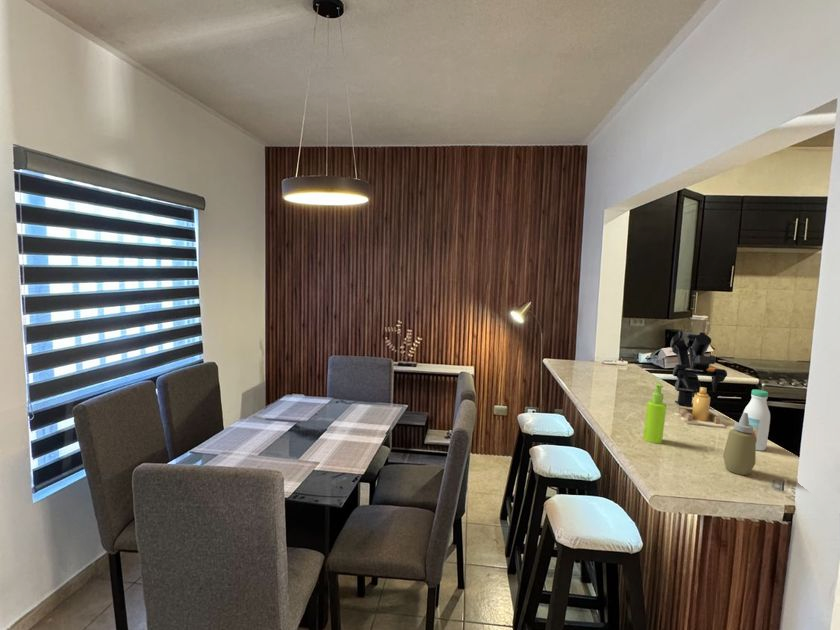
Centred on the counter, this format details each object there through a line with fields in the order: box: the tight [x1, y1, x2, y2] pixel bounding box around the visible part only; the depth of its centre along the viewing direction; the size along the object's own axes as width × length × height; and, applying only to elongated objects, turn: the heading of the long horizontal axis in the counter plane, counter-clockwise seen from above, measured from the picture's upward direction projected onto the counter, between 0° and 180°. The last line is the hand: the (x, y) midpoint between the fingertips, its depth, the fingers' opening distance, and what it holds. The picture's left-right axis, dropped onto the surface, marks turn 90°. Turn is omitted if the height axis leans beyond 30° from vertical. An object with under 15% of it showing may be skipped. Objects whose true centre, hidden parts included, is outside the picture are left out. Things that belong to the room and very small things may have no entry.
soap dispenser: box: [642, 382, 667, 444], centre depth 160 cm, size 6×7×20 cm
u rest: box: [674, 407, 727, 429], centre depth 186 cm, size 14×14×3 cm
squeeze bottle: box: [722, 412, 757, 476], centre depth 137 cm, size 8×8×18 cm
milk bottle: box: [743, 388, 771, 452], centre depth 159 cm, size 8×8×20 cm
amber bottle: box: [691, 386, 711, 421], centre depth 186 cm, size 6×6×13 cm
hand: (701, 390), depth 187 cm, fingers open, 9 cm apart
